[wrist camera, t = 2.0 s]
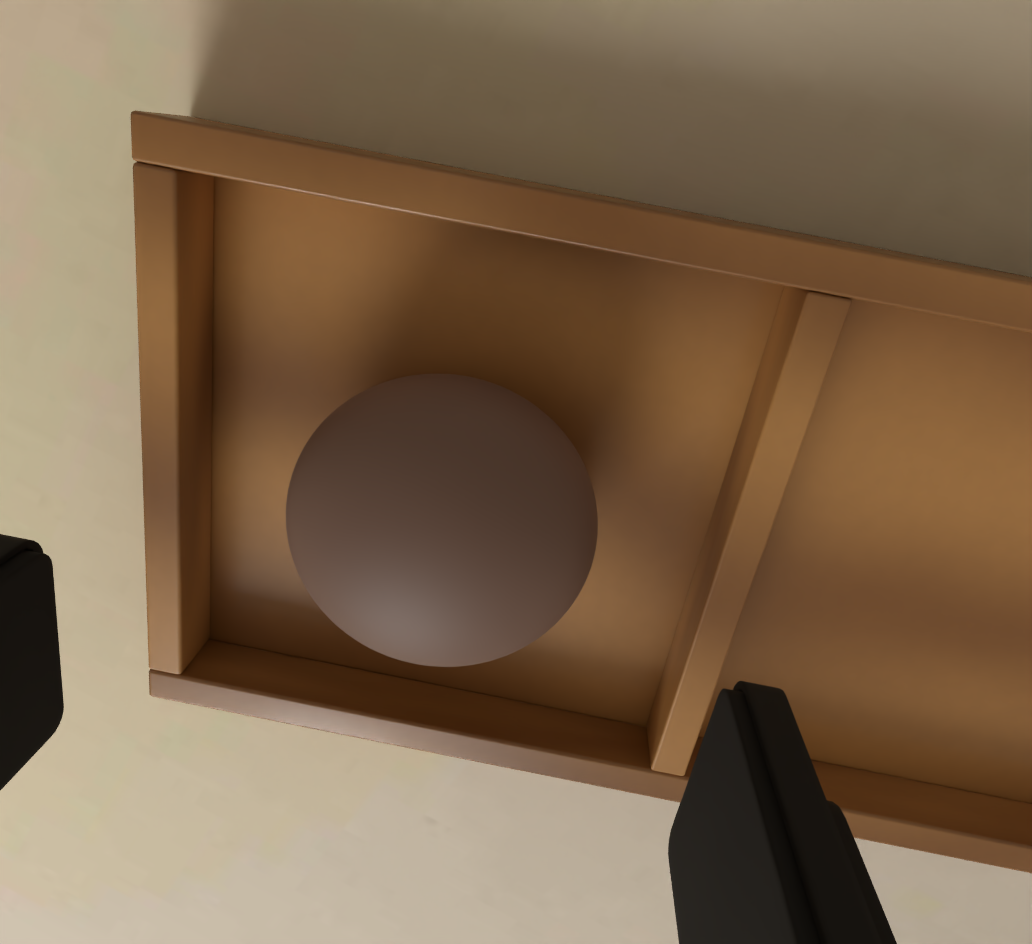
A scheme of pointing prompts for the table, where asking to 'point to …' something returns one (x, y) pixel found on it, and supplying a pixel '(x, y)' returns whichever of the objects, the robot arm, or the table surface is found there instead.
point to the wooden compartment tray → (605, 472)
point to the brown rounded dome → (441, 520)
